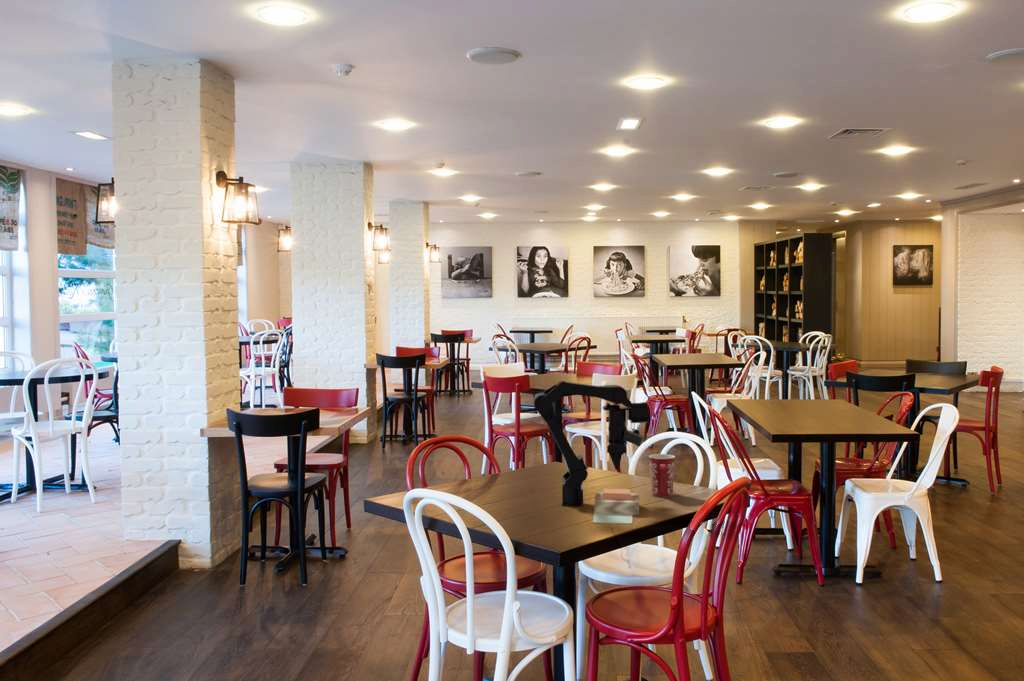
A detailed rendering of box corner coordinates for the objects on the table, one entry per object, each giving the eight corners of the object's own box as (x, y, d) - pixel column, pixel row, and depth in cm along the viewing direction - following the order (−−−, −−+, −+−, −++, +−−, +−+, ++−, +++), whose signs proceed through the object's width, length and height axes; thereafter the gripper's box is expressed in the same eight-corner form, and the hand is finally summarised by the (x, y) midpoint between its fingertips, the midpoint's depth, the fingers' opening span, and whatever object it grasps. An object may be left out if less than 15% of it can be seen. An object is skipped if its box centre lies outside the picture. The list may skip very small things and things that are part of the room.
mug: (648, 491, 297) (648, 453, 296) (674, 491, 295) (674, 453, 294) (648, 500, 284) (648, 460, 283) (676, 500, 283) (676, 461, 282)
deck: (594, 513, 267) (594, 501, 267) (596, 504, 279) (596, 492, 279) (638, 514, 265) (638, 502, 265) (638, 505, 277) (638, 493, 277)
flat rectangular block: (602, 499, 270) (602, 493, 269) (603, 494, 275) (603, 488, 275) (630, 499, 268) (630, 493, 268) (631, 495, 274) (631, 489, 274)
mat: (592, 523, 256) (592, 522, 256) (594, 513, 267) (594, 512, 267) (632, 524, 255) (632, 523, 255) (632, 514, 265) (632, 513, 265)
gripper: (641, 428, 269) (641, 476, 270) (641, 419, 288) (641, 464, 288) (607, 427, 271) (607, 475, 272) (608, 419, 289) (608, 463, 290)
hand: (617, 469), depth 280 cm, fingers closed
